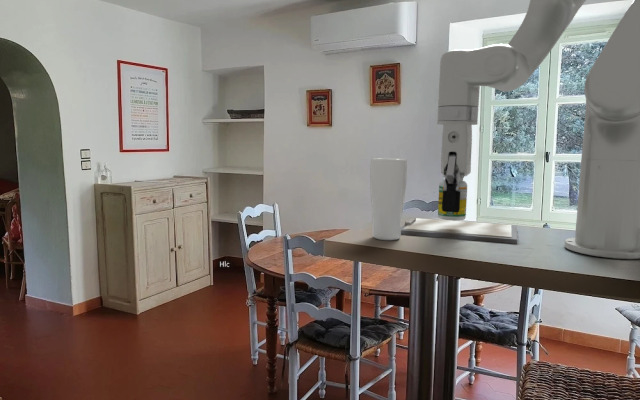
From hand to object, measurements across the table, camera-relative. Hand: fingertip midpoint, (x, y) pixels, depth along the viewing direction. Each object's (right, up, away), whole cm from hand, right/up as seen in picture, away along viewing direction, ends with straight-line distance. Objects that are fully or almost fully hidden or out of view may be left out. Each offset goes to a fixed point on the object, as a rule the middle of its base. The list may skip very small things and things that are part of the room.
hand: (452, 208), depth 95 cm
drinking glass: (-14, -6, -4) cm, 15 cm away
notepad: (+2, -5, +3) cm, 6 cm away
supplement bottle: (0, -2, 0) cm, 2 cm away
